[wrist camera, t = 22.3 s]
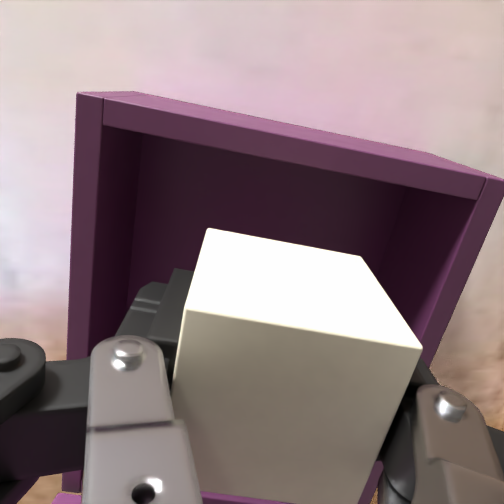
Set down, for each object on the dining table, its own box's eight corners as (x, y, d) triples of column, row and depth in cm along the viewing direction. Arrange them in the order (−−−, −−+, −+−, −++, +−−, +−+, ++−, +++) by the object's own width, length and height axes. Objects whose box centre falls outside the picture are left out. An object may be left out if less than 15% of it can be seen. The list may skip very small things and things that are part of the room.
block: (184, 358, 13) (155, 486, 9) (207, 226, 11) (183, 306, 7) (320, 380, 13) (355, 513, 9) (361, 255, 11) (425, 348, 7)
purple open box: (132, 91, 18) (75, 91, 12) (428, 152, 19) (511, 181, 13) (107, 392, 24) (60, 491, 18) (333, 425, 25) (359, 529, 19)
